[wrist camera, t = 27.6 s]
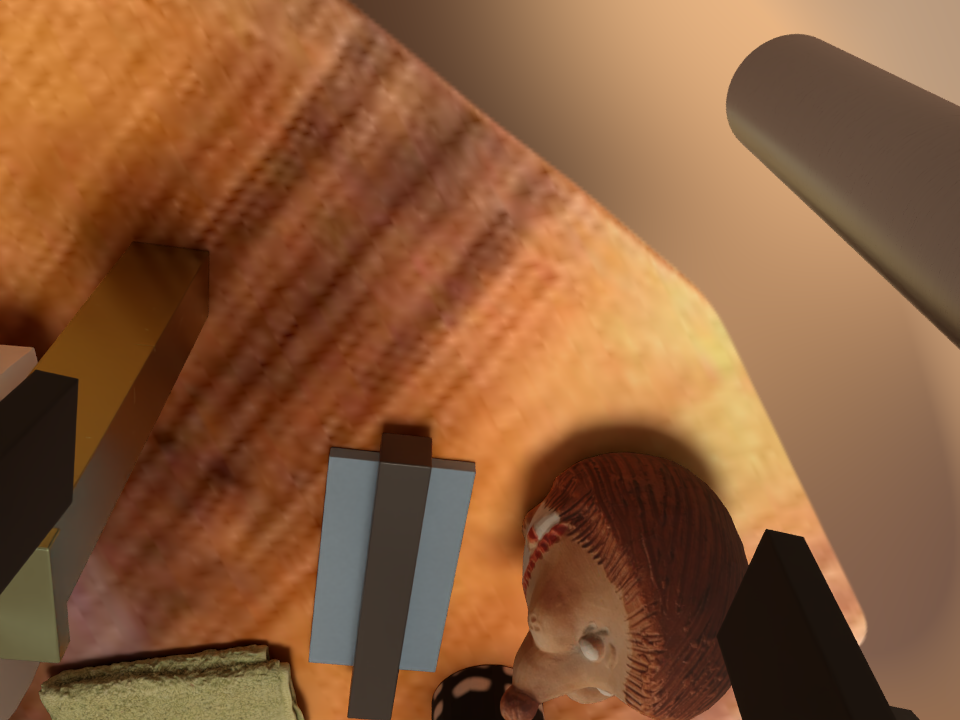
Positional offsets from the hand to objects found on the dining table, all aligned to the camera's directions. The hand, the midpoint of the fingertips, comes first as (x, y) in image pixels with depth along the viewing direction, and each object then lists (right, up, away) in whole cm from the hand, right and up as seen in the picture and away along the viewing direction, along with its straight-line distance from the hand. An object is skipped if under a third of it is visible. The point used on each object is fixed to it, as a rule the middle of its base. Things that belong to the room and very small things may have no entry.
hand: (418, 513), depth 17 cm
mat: (-5, -11, +42) cm, 44 cm away
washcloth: (-20, -23, +49) cm, 58 cm away
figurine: (+9, -7, +42) cm, 43 cm away
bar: (-5, -11, +41) cm, 43 cm away
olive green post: (-16, +7, +32) cm, 36 cm away
